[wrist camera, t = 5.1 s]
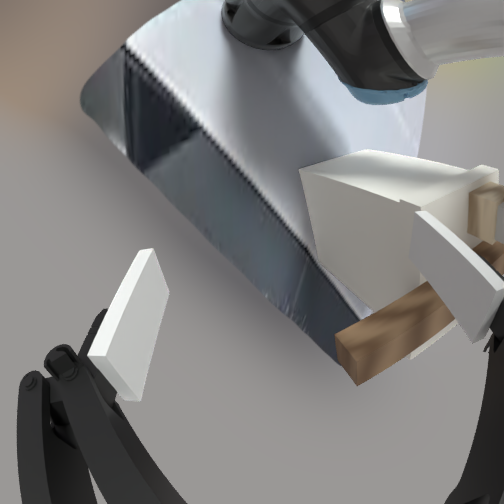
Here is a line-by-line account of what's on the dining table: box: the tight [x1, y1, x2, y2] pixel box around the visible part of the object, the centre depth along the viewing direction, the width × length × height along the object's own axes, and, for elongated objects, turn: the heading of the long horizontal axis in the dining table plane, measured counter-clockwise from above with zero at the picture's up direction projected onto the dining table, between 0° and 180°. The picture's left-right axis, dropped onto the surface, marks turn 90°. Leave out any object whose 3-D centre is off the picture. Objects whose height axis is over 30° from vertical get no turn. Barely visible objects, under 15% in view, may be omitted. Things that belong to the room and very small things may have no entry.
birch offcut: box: [467, 181, 504, 245], centre depth 24 cm, size 6×5×4 cm
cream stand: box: [299, 149, 499, 360], centre depth 42 cm, size 18×22×30 cm
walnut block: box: [334, 241, 504, 386], centre depth 26 cm, size 28×4×4 cm, turn 108°
